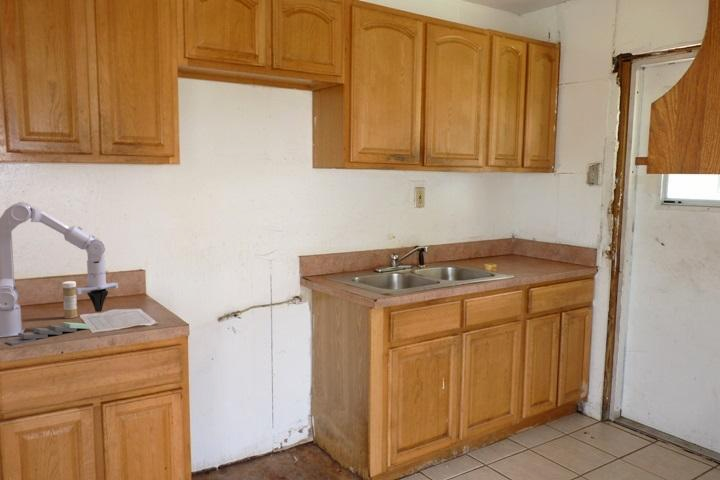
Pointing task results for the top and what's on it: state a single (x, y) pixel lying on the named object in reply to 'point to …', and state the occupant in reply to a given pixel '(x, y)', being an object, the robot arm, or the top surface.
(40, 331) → the domino
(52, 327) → the domino
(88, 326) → the green domino
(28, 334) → the domino
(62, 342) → the top surface
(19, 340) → the domino
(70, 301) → the sprinkles bottle
